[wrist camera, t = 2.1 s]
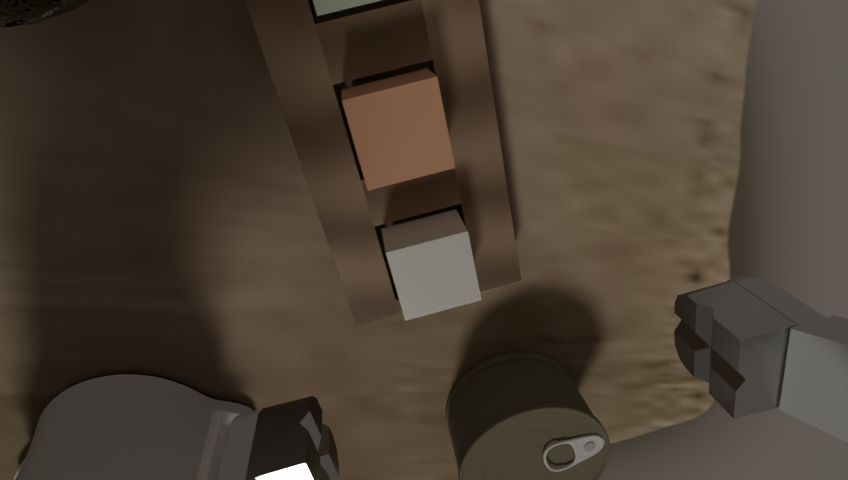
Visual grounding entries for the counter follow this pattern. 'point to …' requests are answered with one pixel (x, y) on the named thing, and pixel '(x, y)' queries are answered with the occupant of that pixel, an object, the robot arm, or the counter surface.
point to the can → (523, 422)
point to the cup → (33, 10)
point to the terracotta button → (398, 128)
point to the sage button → (337, 5)
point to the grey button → (431, 264)
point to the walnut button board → (334, 147)
